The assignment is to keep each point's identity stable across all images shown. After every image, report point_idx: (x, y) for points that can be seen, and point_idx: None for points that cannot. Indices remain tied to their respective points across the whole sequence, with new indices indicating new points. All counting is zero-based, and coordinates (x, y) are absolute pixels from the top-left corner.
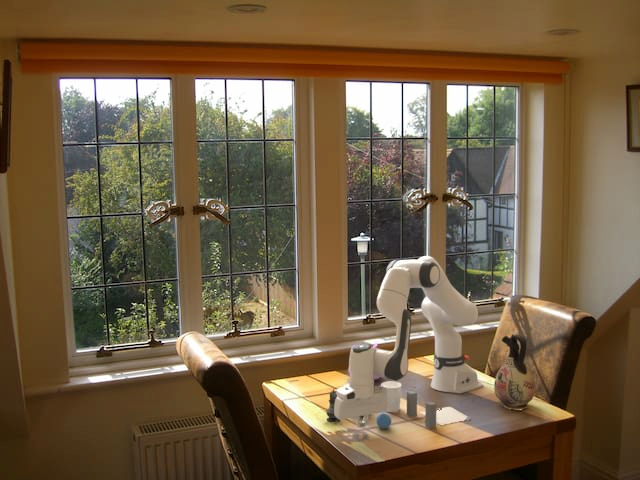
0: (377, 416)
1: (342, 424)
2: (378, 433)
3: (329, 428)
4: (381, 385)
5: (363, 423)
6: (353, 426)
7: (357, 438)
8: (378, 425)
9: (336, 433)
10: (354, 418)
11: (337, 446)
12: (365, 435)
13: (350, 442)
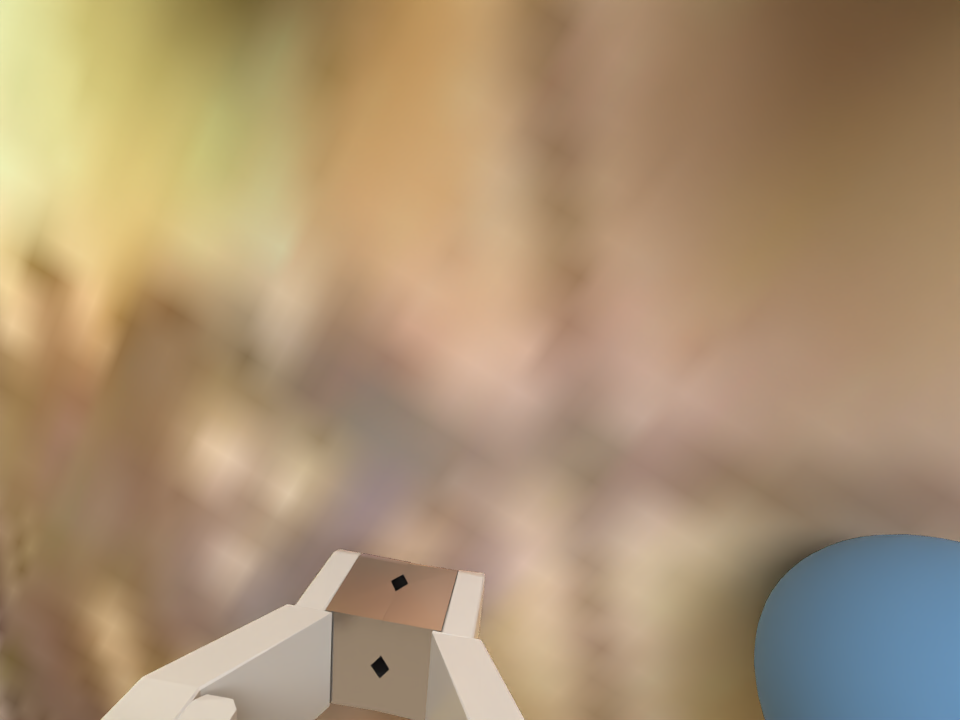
0: (931, 696)
1: (336, 96)
2: (630, 680)
3: (83, 146)
4: None
5: (407, 699)
6: (457, 276)
7: None
8: (755, 650)
9: (115, 367)
10: (172, 680)
11: (8, 665)
12: None
13: None
